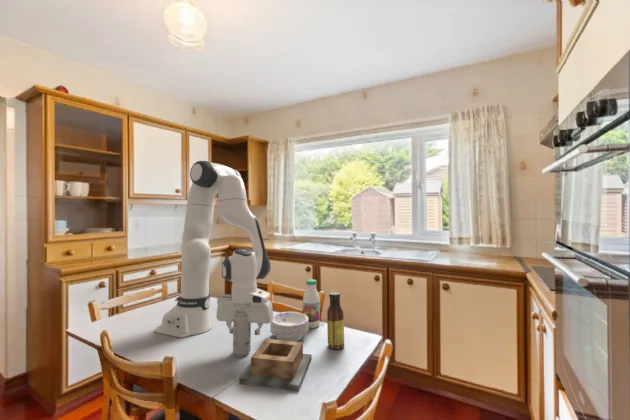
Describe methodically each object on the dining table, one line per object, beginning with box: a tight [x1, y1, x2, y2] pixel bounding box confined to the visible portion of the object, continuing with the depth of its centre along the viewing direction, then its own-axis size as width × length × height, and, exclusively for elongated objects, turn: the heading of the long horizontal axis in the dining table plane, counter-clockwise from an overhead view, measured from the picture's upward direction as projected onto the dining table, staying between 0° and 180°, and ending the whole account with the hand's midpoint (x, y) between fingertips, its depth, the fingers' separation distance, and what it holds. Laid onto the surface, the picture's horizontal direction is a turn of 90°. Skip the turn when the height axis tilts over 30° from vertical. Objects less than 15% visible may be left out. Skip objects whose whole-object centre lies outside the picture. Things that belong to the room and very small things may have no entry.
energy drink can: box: [232, 311, 252, 357], centre depth 102 cm, size 6×6×15 cm
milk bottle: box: [301, 278, 321, 329], centre depth 128 cm, size 8×8×20 cm
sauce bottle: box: [326, 291, 345, 350], centre depth 108 cm, size 6×6×20 cm
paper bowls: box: [269, 311, 309, 342], centre depth 115 cm, size 15×15×8 cm
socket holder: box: [238, 338, 313, 392], centre depth 91 cm, size 18×18×6 cm
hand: (244, 333), depth 103 cm, fingers open, 8 cm apart
